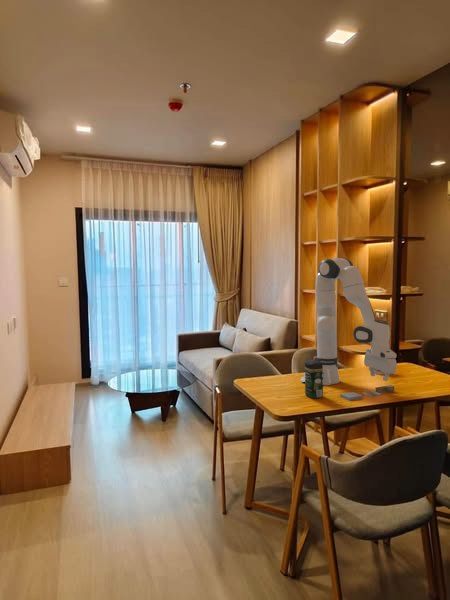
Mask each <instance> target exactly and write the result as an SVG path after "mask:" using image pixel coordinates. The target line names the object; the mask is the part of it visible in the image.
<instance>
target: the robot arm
mask: <svg viewBox="0 0 450 600" xmlns="http://www.w3.org/2000/svg"><path fill="white" fill-rule="evenodd" d="M338 279H339V280H340V282H341V286H342V290H343V294H344V297H345V299H346V301H348V303H350V304H352V305H354V306H356V307H357V308H358V309H359V311H360V314H361V316H362V320H363V323H364V324H361V325H358V326H356V327H355V328H354V329H353V333H352V334H353V335H352V336H353V339H354V340H355V342H356V343H359V344H368V343H369V344H370V348H367V349H366V351H365V354H364V359H363V364H364V366H366V367H368V370H369V374H370V376H371V377H375V376H376V374H375V373H374V370H373V369H377V370H380V371H383V372H385V374H384V375H383V377H382V380H383V381H384V382H387V381H388V379H389V377H390V375H391V374H392V375H393V374H395V373H396V372H397V360H396V358H397V353H396V352H395V351H393V350H392V349H390V337H391V329H390V324H389V322H387V321H386V320H382V319H376V315H375V312H374V310H373V306H372V304H371V301H370V299H369V296H368V293H367V291H366V289H365V284H364V279H363V276H362V275H361V271H360V270H359V268H358V267H357V266H354V264H353V262H352V260H350V259H348V258H346V257H345V258H343V257H342V258H341V257H334V258H327V259H324V260H321V261H320V263H319V265H318V273H317V274H316V276H315V287H314V288H315V289H314V290H315V292H314V293H315V306H316V307H315V309H316V324H315V326H316V342H317V343H316V348H317V349H316V351H317V355H316V356H313V359H314V360H315V361H318V362H320V363H322V365H323V371H322V382H323V386H330V385H336V384H339V383H340V382H341V379H340V375H339V369H338V367H339V358H338V349H337V348H338V345H337V344H338V342H337V341H338V340H337V335H338V334H337V305H336V304H337V303H336V300H337V299H336V281H337V280H338ZM301 381H302V382H305V373H304V374H303V376H302V377H300V382H301ZM302 382H301V383H302Z"/></svg>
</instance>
